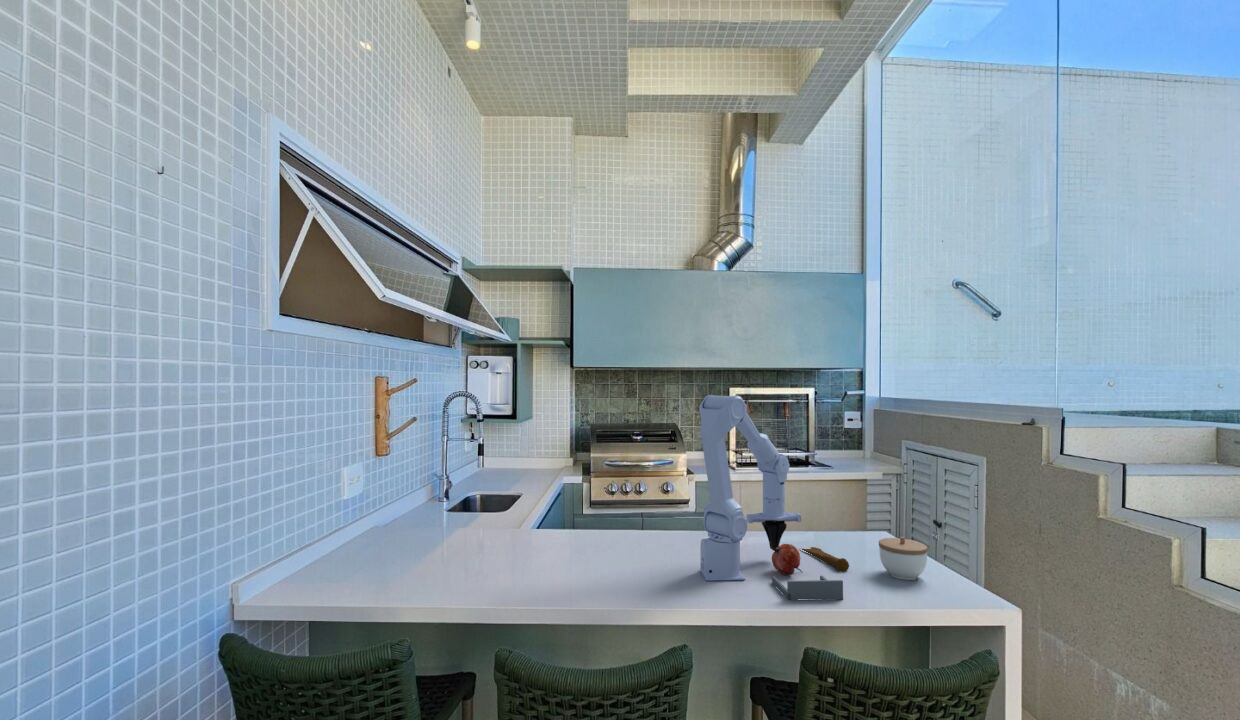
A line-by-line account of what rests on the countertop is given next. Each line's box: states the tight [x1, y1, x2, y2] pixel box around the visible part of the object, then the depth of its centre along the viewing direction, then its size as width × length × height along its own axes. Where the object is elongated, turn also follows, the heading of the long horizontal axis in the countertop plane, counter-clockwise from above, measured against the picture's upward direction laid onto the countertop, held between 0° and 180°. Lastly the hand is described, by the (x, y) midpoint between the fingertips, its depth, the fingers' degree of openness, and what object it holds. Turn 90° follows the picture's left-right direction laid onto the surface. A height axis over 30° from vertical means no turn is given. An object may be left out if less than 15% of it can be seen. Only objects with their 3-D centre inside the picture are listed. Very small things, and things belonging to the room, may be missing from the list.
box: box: [771, 575, 844, 601], centre depth 125 cm, size 12×11×4 cm
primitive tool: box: [801, 546, 850, 572], centre depth 148 cm, size 19×6×4 cm, turn 11°
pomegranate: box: [771, 543, 802, 576], centre depth 137 cm, size 7×7×10 cm
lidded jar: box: [878, 536, 928, 581], centre depth 136 cm, size 11×11×9 cm
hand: (774, 549), depth 147 cm, fingers closed
